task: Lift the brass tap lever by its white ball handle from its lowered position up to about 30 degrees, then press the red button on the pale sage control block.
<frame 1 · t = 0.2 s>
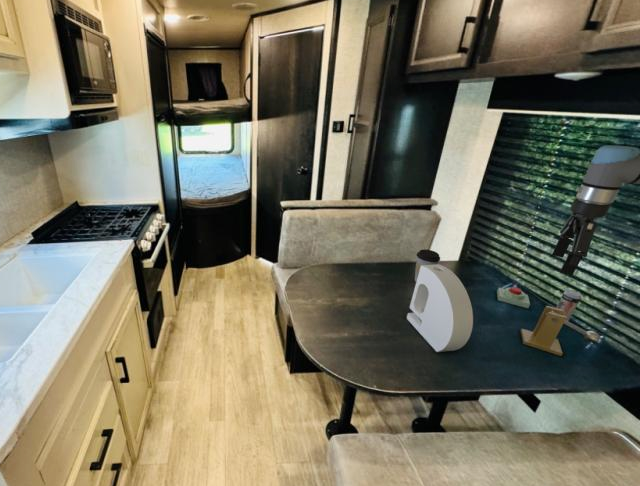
hand: (561, 264, 100), 31 cm above the table, tool pointing down, fingers open, 13 cm apart
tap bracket: (539, 342, 111), on the table
tap lever: (573, 326, 104), point 10 cm above the table, hinge at -20.0°
white curved block: (431, 336, 114), on the table
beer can: (559, 318, 123), on the table
coffee cup: (421, 281, 147), on the table
button: (515, 290, 132), point 4 cm above the table, slide at 0.1 cm
button block: (511, 299, 134), on the table
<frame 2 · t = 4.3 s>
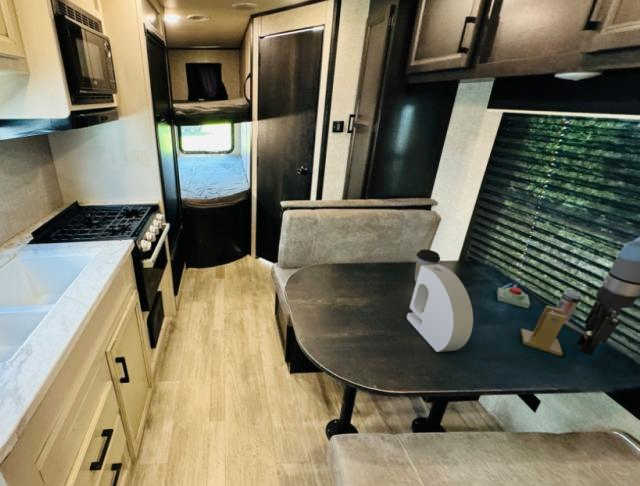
hand: (584, 349, 104), 3 cm above the table, tool pointing down, fingers closed on tap lever, 4 cm apart
tap lever: (573, 326, 104), point 10 cm above the table, hinge at -20.0°, touching gripper
everything else where it was.
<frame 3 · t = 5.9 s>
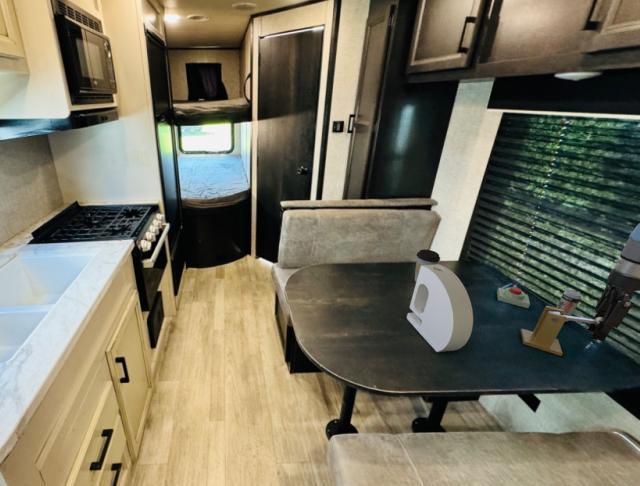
hand: (595, 335, 101), 9 cm above the table, tool pointing down, fingers closed on tap lever, 4 cm apart
tap lever: (578, 319, 102), point 13 cm above the table, hinge at 11.2°, touching gripper
everything else where it was.
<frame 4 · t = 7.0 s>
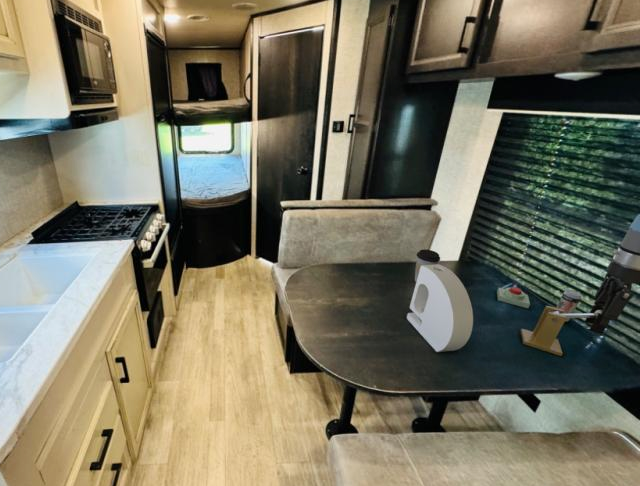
hand: (593, 327, 101), 12 cm above the table, tool pointing down, fingers open, 4 cm apart
tap lever: (578, 315, 102), point 14 cm above the table, hinge at 25.0°
everything else where it was.
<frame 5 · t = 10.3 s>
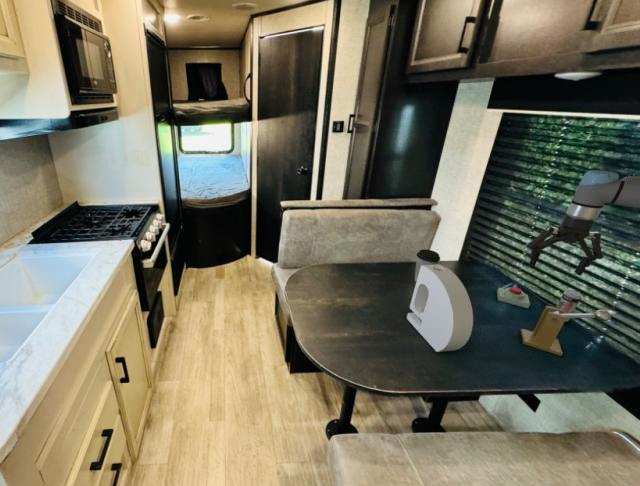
hand: (553, 270, 116), 21 cm above the table, tool pointing down, fingers open, 13 cm apart
nothing on the table moved.
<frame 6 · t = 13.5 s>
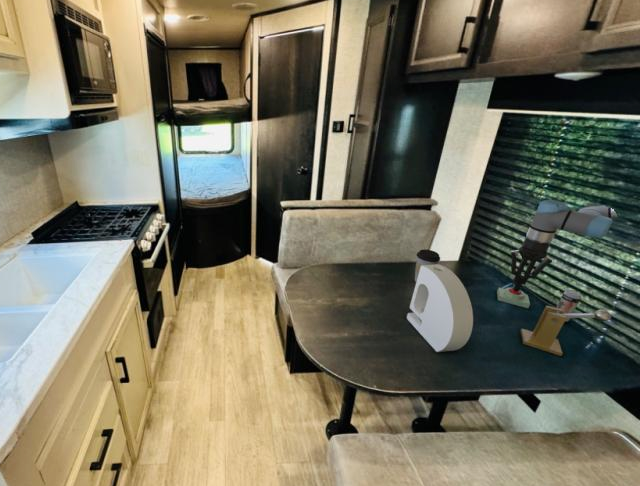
hand: (515, 289, 132), 5 cm above the table, tool pointing down, fingers closed
button: (515, 292, 132), point 4 cm above the table, slide at -0.5 cm, touching gripper
everything else where it was.
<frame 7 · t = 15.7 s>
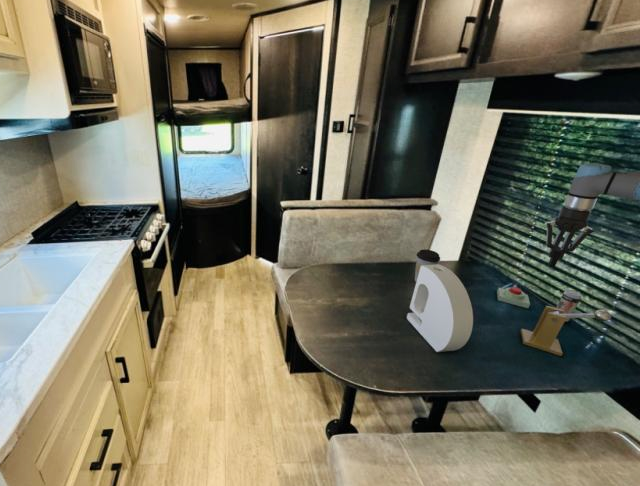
hand: (551, 265, 122), 20 cm above the table, tool pointing down, fingers closed
button: (515, 290, 132), point 4 cm above the table, slide at 0.1 cm
everything else where it was.
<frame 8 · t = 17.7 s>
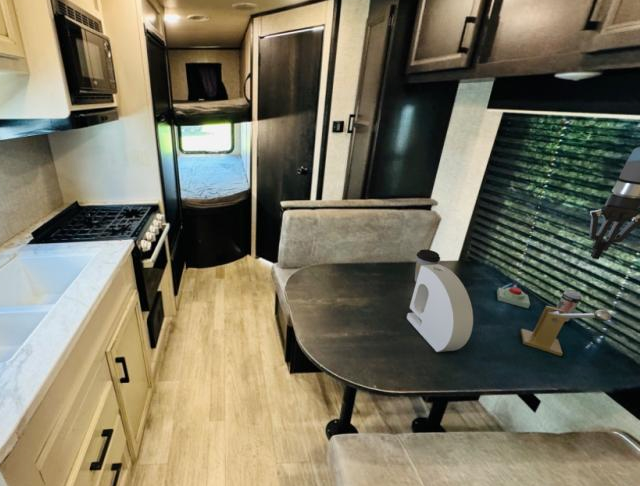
hand: (594, 257, 113), 26 cm above the table, tool pointing down, fingers closed
nothing on the table moved.
at the end: tap lever at +25° (first picture: -20°); button pushed in 1.0 cm at the most during the clip, back to where it started at the end; button slide at 0.1 cm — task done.
